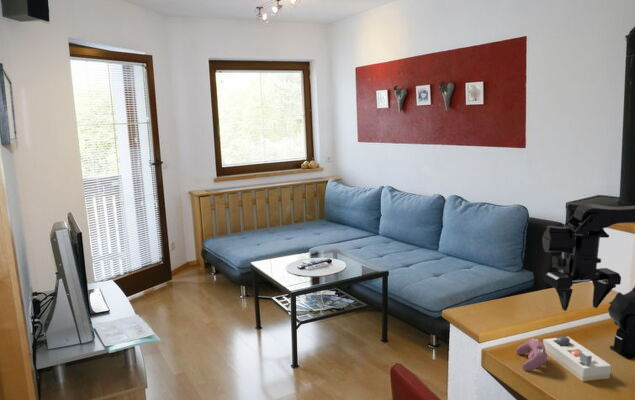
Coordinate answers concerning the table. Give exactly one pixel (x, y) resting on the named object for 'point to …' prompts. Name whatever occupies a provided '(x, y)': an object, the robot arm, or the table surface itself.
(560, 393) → the table surface
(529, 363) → the video game controller
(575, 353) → the salmon orange button
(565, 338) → the black button
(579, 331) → the table surface
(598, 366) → the switch panel
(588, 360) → the slide switch
